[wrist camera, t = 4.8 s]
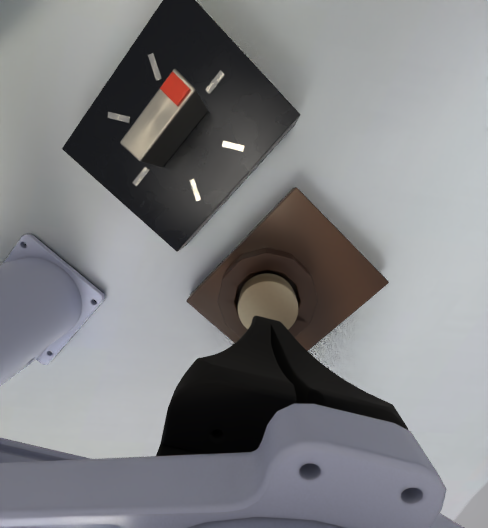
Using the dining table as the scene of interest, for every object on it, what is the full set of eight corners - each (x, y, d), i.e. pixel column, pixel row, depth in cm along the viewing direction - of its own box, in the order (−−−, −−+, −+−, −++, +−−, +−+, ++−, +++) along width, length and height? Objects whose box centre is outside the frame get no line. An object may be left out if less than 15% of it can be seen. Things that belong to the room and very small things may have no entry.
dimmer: (186, 245, 21) (176, 252, 19) (85, 154, 20) (59, 148, 17) (295, 124, 19) (300, 113, 16) (187, 9, 17) (175, -23, 15)
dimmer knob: (162, 168, 17) (137, 161, 14) (145, 152, 17) (116, 141, 14) (208, 110, 16) (194, 87, 13) (191, 93, 16) (172, 64, 13)
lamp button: (267, 334, 20) (268, 348, 18) (227, 299, 19) (225, 309, 18) (306, 299, 19) (311, 309, 17) (266, 261, 18) (267, 268, 17)
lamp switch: (274, 368, 24) (276, 394, 21) (190, 294, 22) (179, 311, 19) (381, 277, 21) (402, 291, 18) (293, 187, 20) (300, 186, 17)
